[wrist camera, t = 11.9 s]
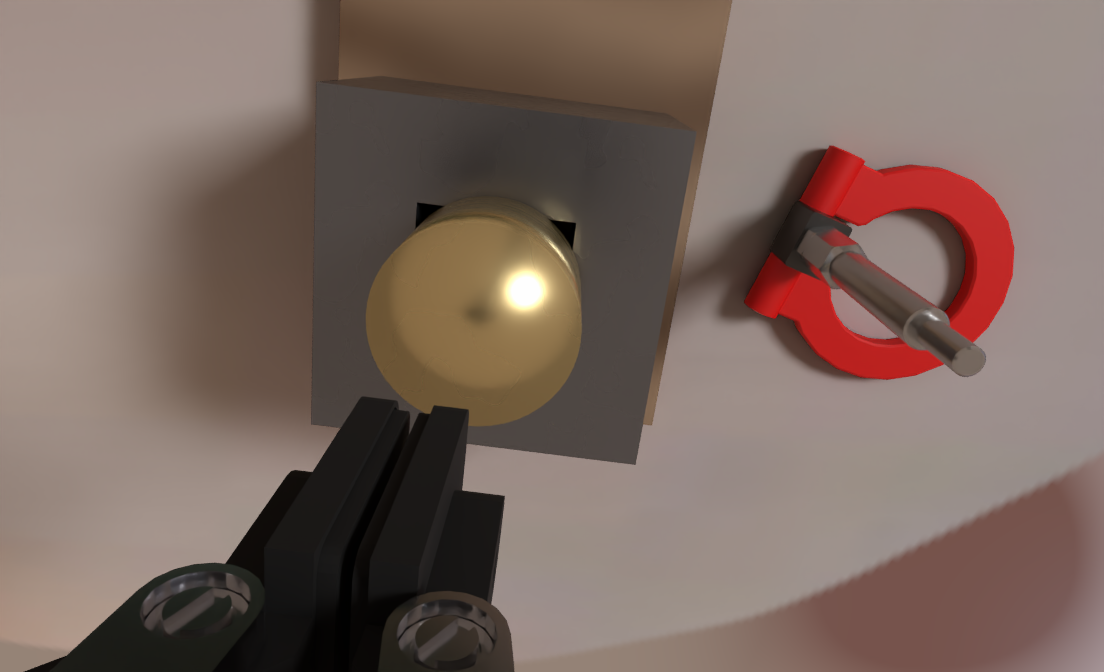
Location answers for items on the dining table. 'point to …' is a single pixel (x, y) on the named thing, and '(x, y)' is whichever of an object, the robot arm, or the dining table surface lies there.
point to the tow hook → (840, 263)
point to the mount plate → (556, 66)
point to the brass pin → (478, 311)
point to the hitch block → (514, 173)
